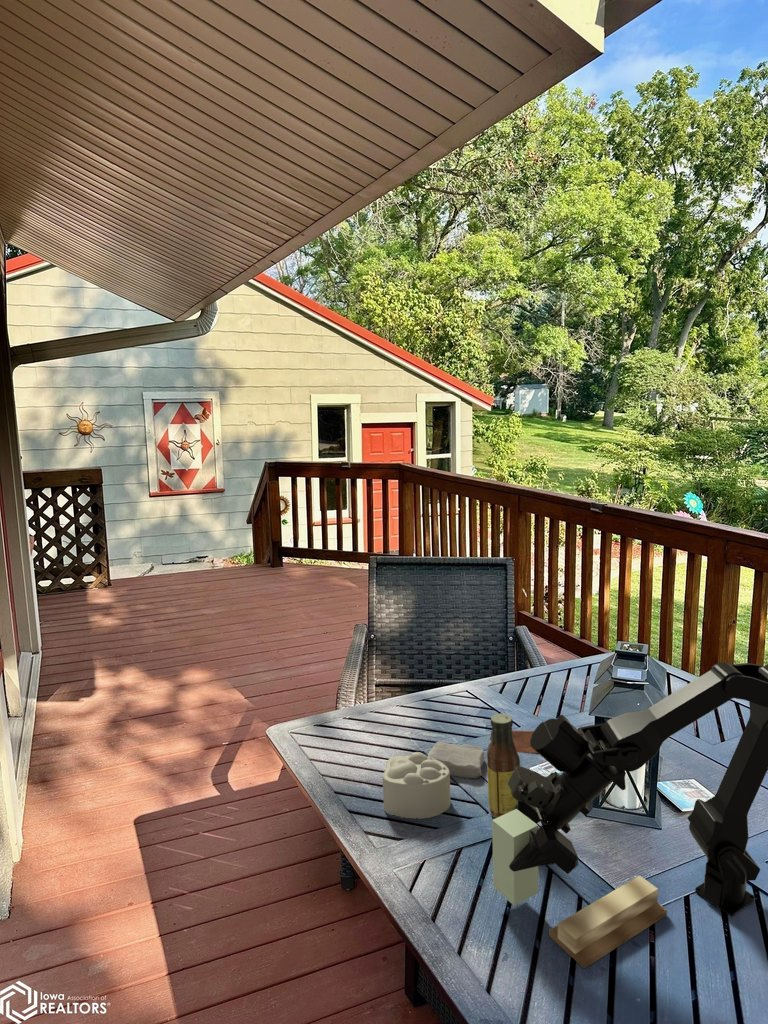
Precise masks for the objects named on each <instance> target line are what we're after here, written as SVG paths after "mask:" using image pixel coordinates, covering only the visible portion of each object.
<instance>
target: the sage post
mask: <svg viewBox="0 0 768 1024" xmlns="http://www.w3.org/2000/svg"><path fill="white" fill-rule="evenodd" d="M491 823H492V824H491V825H492V829H491V830H492V833H491V834H492V881H493V882H492V884H493V885H492V887H493V888H494V889H495V890H496V891H498V893H500V895H501V896H503V897H504V898H505V899H506V900H507V901H508V902H509V903H510V904H511V905H513V906H514V907H515V906H517V905H519V904H521V903H522V902H524V901H526V900H528V899H529V898H531V897H533V896H535V895H537V894H538V893H539V866H537V867H532V868H528V869H524V870H519V871H515V872H514V871H512V870H511V869H510V868H509V865H510V864H511V862H512V861H513V860H514V858H515V857H516V856H517V855H518V854H519V853H520V852H521V851H522V849H523V848H524V847H525V846H526V845H527V844H528V843H529V831H530V830H531V831H532V832H534V833H535V834H536V832H537V830H538V829H539V825H538V823H537V824H536V823H535V822H533V821H532V820H531V819H529V818H528V817H527V816H525V815H524V814H523V813H521V812H520V811H519V810H517V809H515V810H513V811H511V812H509V813H506V814H504V815H502V816H500V817H498V818H493V819H492V821H491Z"/></svg>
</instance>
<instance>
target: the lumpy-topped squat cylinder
mask: <svg viewBox="0 0 768 1024" xmlns="http://www.w3.org/2000/svg"><path fill="white" fill-rule="evenodd" d="M385 764H386V765H385V770H384V771H383V774H382V794H383V797H382V798H383V810H384V809H385V810H384V812H385V811H387V812H388V813H390V814H393V815H396V816H401V817H400V818H404V817H405V818H406V819H407V818H408V819H416V818H418V819H419V820H420V819H429V818H432V817H435V816H439V815H441V814H443V813H445V812H446V811H448V810H449V809H450V807H451V776H450V771H449V769H448V768H447V766H446V765H444V764H443V763H442V762H440V761H438V760H435V759H432V758H429V757H427V755H425V754H424V753H422V752H421V751H420V752H419V751H415V752H412V753H411V754H410V755H396V756H392V757H390V758H389V759H388V760H387V761H386V763H385ZM388 813H387V814H388ZM390 814H389V815H390ZM396 816H395V817H396Z"/></svg>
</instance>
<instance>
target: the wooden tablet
mask: <svg viewBox="0 0 768 1024" xmlns="http://www.w3.org/2000/svg"><path fill="white" fill-rule="evenodd" d="M534 731H535V730H514V729H512V737H513V741H514V744H515V747H516V750H517V753H522V754H538V753H537V752H536V751H535V750H534V749H533V748H532V747H531V745H530V741H531V737H532V734H533V732H534ZM489 741H490V742H491V741H492V731H491V732H490V737H489Z"/></svg>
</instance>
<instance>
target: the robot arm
mask: <svg viewBox="0 0 768 1024" xmlns="http://www.w3.org/2000/svg"><path fill="white" fill-rule="evenodd" d="M732 699H737V700H744V701H747V702H749V704H748V705H749V718H748V721H747V723H746V725H745V727H744V730H743V732H742V734H741V736H740V739H739V741H738V744H737V746H736V748H735V750H734V753H733V755H732V757H731V759H730V761H729V764H728V766H727V768H726V770H725V773H724V775H723V778H722V779H721V782H720V784H719V787H718V789H717V791H716V793H715V795H714V796H712V797H710V798H709V799H707V800H705V801H704V800H702V799H700V798H697V799H696V800H695V802H694V805H693V809H692V811H691V813H690V814H689V815H688V817H687V820H688V821H689V823H688V828H689V829H688V830H689V833H690V834H691V836H692V838H693V839H694V840H695V842H696V843H697V845H698V846H699V848H700V849H701V851H702V852H703V854H704V856H705V857H706V858H707V859H706V862H705V870H704V871H705V873H704V880H703V881H704V882H702V883H701V884H700V885H698V886H696V887H695V888H694V890H695V892H696V894H698V895H699V896H701V898H703V899H705V900H706V901H708V902H709V903H710V904H712V905H713V906H715V907H716V908H718V909H719V910H721V911H722V912H724V913H726V914H727V915H728V916H731V917H733V916H735V915H736V914H738V913H739V912H740V911H742V910H744V909H746V907H748V906H749V905H751V904H752V903H753V902H755V900H756V897H755V895H753V894H752V893H750V892H749V891H747V882H748V881H756V879H757V878H758V877H759V873H760V871H761V867H759V865H758V864H757V863H756V862H755V860H754V859H753V858H752V856H751V855H750V854H749V852H748V851H747V844H748V843H749V842H748V841H749V838H750V837H749V823H748V822H749V821H748V816H749V812H750V810H751V808H752V805H753V803H754V800H755V799H756V797H757V794H758V792H759V790H760V788H761V785H762V783H763V781H764V778H765V777H766V774H767V772H768V664H765V665H762V664H755V663H751V662H745V663H735V664H734V663H729V662H724V661H723V662H717V663H715V664H714V665H712V666H711V668H710V669H709V670H708V671H707V672H705V673H704V674H702V675H700V676H699V677H697V678H696V679H694V680H692V681H690V682H689V683H687V684H686V685H684V686H683V687H681V688H679V689H677V690H676V691H674V692H672V693H671V694H669V695H667V696H666V697H664V698H663V699H661V700H660V701H659V700H658V702H656V703H655V704H653V705H651V706H650V707H647V708H645V709H643V710H637V711H627V712H624V713H621V714H619V715H617V716H615V717H613V718H609V719H608V720H606V721H604V723H597V724H592V725H587V726H585V725H584V726H579V727H578V728H576V727H575V726H574V725H573V724H572V723H571V722H570V721H569V719H568V718H567V717H566V716H565V715H563V714H560V715H559V716H558V717H557V718H549V719H547V720H545V721H542V722H540V723H539V724H538V725H537V727H536V728H535V729H534V730H533V731H534V732H533V734H532V737H531V741H530V745H531V747H532V748H533V749H534V750H535V751H536V752H537V753H536V754H539V756H541V757H542V758H543V759H544V760H545V761H546V762H547V763H549V764H550V765H551V766H552V767H554V768H555V769H556V770H557V771H558V772H557V771H554V772H551V773H549V774H548V775H547V776H545V775H542V774H540V773H539V772H537V771H533V770H531V769H529V768H526V767H523V766H521V765H520V766H516V768H515V770H514V772H513V774H512V776H511V778H510V780H509V782H508V785H509V786H510V789H511V794H512V796H513V798H515V799H516V806H515V808H514V810H515V809H517V810H519V811H520V812H521V813H523V814H524V815H525V816H527V817H528V818H529V819H531V820H532V821H533V822H535V823H536V824H537V825H538V823H540V824H541V826H539V827H538V830H537V832H536V834H535V833H534V832H532V831H531V830H530V831H529V843H528V844H527V845H526V846H525V847H524V848H523V849H522V851H521V852H520V853H519V854H518V855H517V856H516V857H515V858H514V860H513V861H512V862H511V864H510V865H509V868H510V869H511V870H512V871H514V872H515V871H519V870H524V869H528V868H532V867H537V866H538V867H542V866H547V865H548V866H549V865H556V866H557V867H558V868H560V869H561V870H562V871H563V872H564V873H566V874H567V875H569V874H570V873H572V871H574V870H575V869H576V868H577V867H578V866H579V856H578V854H577V852H576V849H575V847H574V844H573V842H572V841H571V840H570V839H569V838H567V837H566V836H565V835H564V834H568V833H569V832H570V831H571V830H572V829H571V827H570V824H569V823H570V822H572V821H573V820H574V819H575V818H576V817H577V816H578V815H579V814H580V813H581V814H583V815H584V816H585V817H586V816H588V815H589V813H590V812H591V810H590V809H589V807H588V806H589V805H590V804H591V803H592V802H593V801H594V800H595V799H596V798H597V797H598V796H599V795H600V794H601V793H602V792H604V790H606V789H607V788H608V787H609V785H611V784H612V783H613V784H614V785H616V786H617V787H618V788H619V789H620V790H622V791H624V790H626V772H628V773H631V772H634V771H637V770H639V769H641V768H642V767H644V765H646V764H647V763H648V762H649V761H650V760H651V759H653V758H654V757H655V756H656V755H657V754H658V752H659V750H660V748H661V747H662V745H663V743H664V742H665V741H666V740H667V739H669V738H670V737H671V736H673V735H675V734H676V733H678V732H681V730H683V729H684V728H687V727H688V726H690V725H691V724H692V723H694V722H696V721H698V720H700V719H701V718H703V717H705V716H706V715H708V714H709V713H711V712H713V711H714V710H716V709H718V708H720V707H721V706H723V705H724V704H726V703H728V702H730V701H731V700H732ZM597 741H599V742H600V744H601V746H602V748H603V749H604V750H602V749H601V747H600V745H599V744H598V742H597ZM559 772H560V773H559ZM559 830H561V831H563V832H564V834H563V833H562V832H561V831H559Z"/></svg>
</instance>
